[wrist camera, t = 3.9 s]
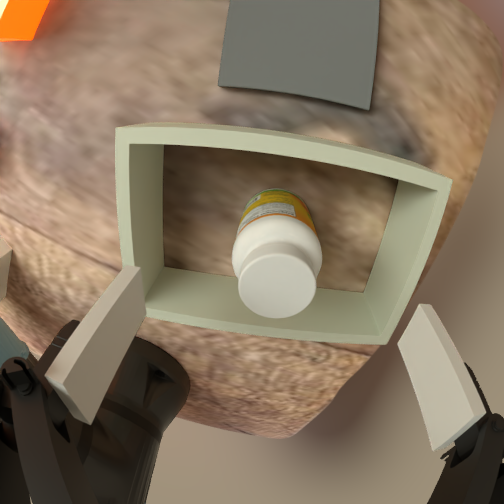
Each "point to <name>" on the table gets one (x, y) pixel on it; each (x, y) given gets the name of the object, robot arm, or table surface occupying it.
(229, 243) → the table surface
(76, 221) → the table surface
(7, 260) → the milk
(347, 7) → the slate mat
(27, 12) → the orange juice
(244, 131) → the open box
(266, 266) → the supplement bottle
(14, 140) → the table surface
